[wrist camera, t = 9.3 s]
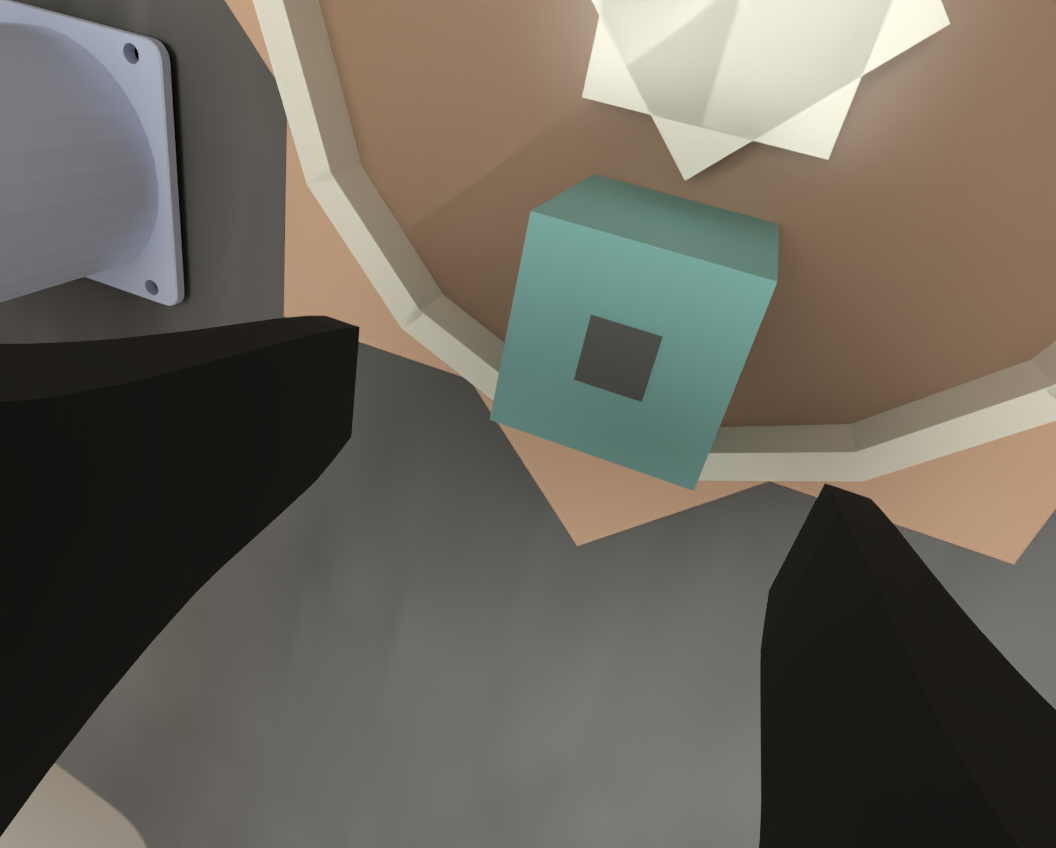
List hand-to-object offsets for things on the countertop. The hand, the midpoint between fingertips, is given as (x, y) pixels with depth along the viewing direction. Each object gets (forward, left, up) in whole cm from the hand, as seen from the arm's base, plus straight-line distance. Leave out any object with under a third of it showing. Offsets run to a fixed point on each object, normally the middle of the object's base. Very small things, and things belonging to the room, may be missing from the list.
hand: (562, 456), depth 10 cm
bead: (0, 0, -9) cm, 9 cm away
